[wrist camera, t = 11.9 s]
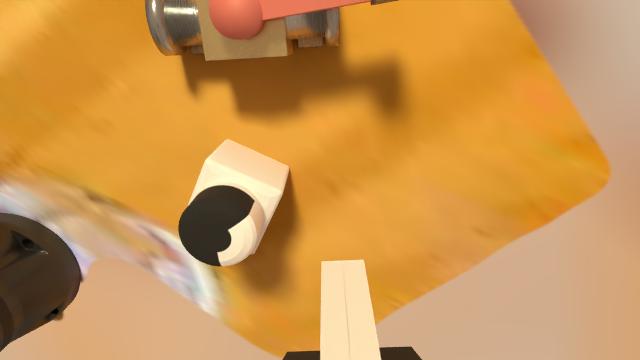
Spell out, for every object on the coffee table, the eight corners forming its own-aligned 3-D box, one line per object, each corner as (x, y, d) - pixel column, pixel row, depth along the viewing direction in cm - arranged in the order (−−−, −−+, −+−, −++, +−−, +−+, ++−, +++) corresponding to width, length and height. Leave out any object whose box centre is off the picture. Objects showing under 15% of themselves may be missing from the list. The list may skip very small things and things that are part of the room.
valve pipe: (180, 59, 38) (153, 63, 32) (167, -18, 36) (134, -29, 29) (338, 50, 38) (340, 52, 31) (335, -29, 35) (337, -43, 29)
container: (203, 195, 43) (155, 256, 31) (226, 136, 41) (184, 178, 29) (264, 221, 44) (242, 290, 32) (291, 166, 42) (277, 218, 30)
